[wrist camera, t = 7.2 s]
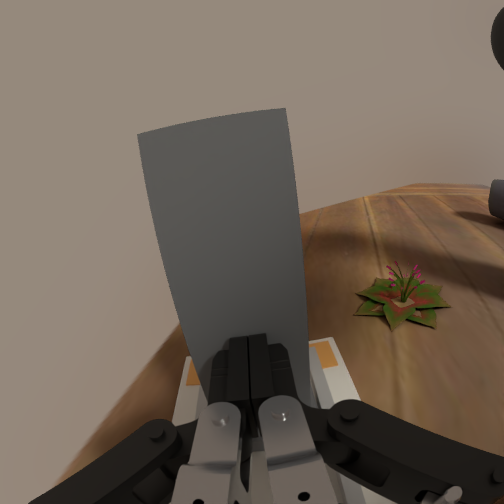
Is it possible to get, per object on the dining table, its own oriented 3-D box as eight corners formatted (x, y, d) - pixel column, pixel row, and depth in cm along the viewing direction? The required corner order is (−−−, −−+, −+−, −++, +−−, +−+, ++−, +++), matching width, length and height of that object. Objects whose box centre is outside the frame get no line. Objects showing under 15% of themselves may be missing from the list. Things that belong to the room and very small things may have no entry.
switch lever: (322, 441, 13) (306, 101, 8) (213, 454, 13) (112, 136, 8) (310, 392, 17) (286, 117, 11) (216, 404, 17) (150, 140, 11)
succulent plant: (448, 346, 20) (459, 303, 19) (334, 324, 28) (333, 284, 26) (453, 287, 29) (458, 252, 27) (368, 275, 36) (368, 243, 35)
